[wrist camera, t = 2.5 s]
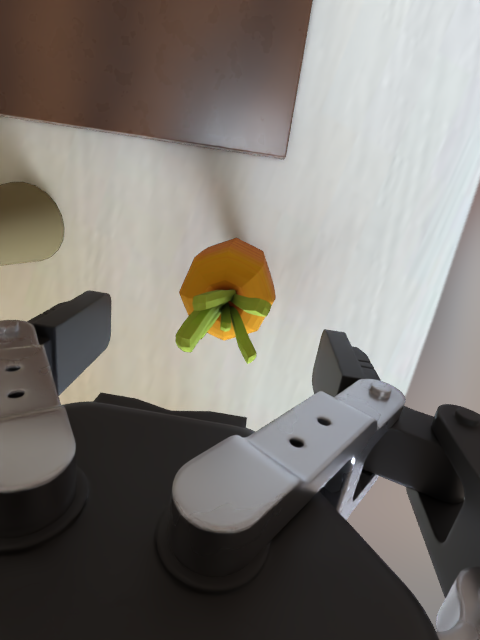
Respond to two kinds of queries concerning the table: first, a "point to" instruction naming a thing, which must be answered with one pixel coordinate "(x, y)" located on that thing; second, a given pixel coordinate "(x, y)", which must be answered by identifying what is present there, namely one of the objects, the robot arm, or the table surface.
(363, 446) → the robot arm
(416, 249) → the table surface
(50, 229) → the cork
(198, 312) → the carrot
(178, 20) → the cutting board
